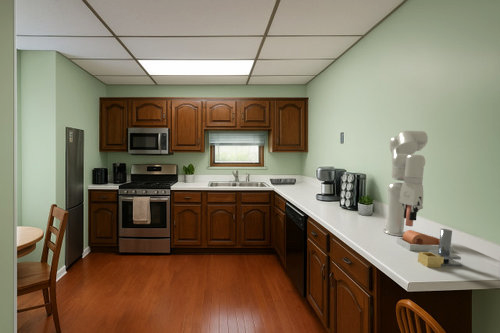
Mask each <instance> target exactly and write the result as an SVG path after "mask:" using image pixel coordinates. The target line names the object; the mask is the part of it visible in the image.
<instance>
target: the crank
mask: <svg viewBox="0 0 500 333" xmlns="http://www.w3.org/2000/svg"><path fill="white" fill-rule="evenodd" d="M404 232H405V233H404V234H403V236H402V238H403V240H404V241H405V242H407V243H409V244H416V245H439V241H440V238H438V237H435V236H433V235H428V234H425V233H422V232H418V231H415V230H413V229H412V230H411V229H409V230H406V231H404Z"/></svg>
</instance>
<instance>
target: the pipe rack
mask: <svg viewBox="0 0 500 333" xmlns="http://www.w3.org/2000/svg"><path fill="white" fill-rule="evenodd" d="M396 244H398V245H399V246H401V247H403V248H404V249H406V250H408V251H413V252H414V251H417V252H428V249H435V250H439V245H416V244H409V243H407V242H405V241H404V240H403V237H396ZM450 252H451V253H453V252H454V245H452V244H451V248H450Z"/></svg>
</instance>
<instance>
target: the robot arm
mask: <svg viewBox="0 0 500 333" xmlns="http://www.w3.org/2000/svg"><path fill="white" fill-rule="evenodd" d="M428 137H429V136H428V134H427V133H426V132H425V131H423V130H403V131H401V132H400V133H399V134H398V136H393V137H391V138H390V140H389V150H390V152H391V163H392V165H391V178H392V179H393V180H395V181H400V182H392V183H390V184H389V185H388V187H387V190H388V191H387V193H388V202H387V204H388V205H387V206H388V207H387V218H386V223H385V224H384V227H385V228H384V229H383V232H384V234H387V235H390V236H393V237H394V236H395V237H403V234H404V233H405V232H406V231H405V229H404V228H405V221H406V214H407V205H411V212H410V218H409V220H413V221H417V215H418V214H417V213H418V212H419V211H420V210H422V209H424V206H423V205H424V204H423V203H424V185H423V183H424V182H423V181H424V180H423V179H424V169H425V167H426V166H425V165H426V158H425V156H424V155H421V154H415V153H416V152H420V151H422V149H424V148H425V146H427V144H428V140H429V138H428ZM401 181H402V182H401Z"/></svg>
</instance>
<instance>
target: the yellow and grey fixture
mask: <svg viewBox="0 0 500 333" xmlns="http://www.w3.org/2000/svg"><path fill="white" fill-rule="evenodd" d="M439 232H440V233H439V239H440V241H439V250H435V249H428V251H418V254H417V255H418V256H417V262H418V263H419V264H421V265H423V266H425V267H426V268H442V266H443V267H446V266H448V267H463V264H462V263H461V262H459V261H460V260H461V259H462V257H461V256H460V255H458V254H455V253H453V252H450V248H451V245H452V235H453V230H451V229H448V228H440V231H439ZM456 260H458V261H456Z"/></svg>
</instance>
